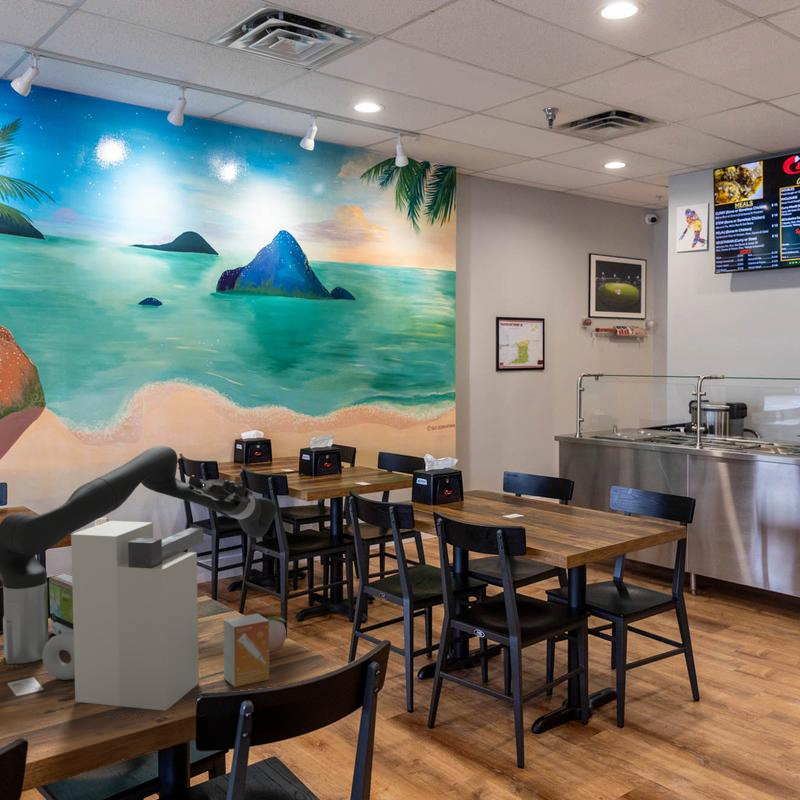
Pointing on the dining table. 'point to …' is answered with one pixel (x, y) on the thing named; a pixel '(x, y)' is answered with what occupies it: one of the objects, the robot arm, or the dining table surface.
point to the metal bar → (161, 548)
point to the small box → (246, 649)
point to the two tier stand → (132, 621)
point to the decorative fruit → (276, 633)
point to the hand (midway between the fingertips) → (208, 482)
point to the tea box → (61, 604)
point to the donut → (52, 656)
